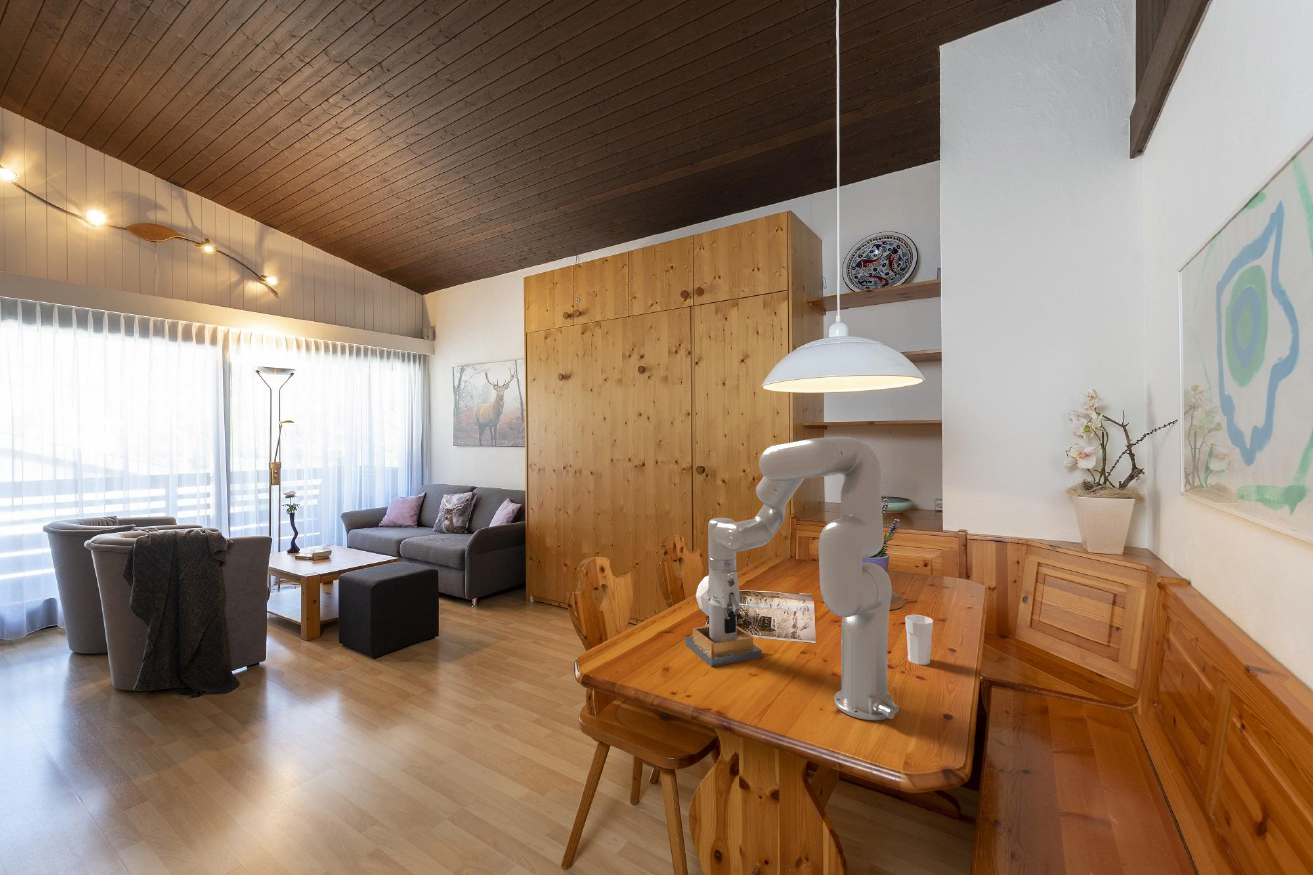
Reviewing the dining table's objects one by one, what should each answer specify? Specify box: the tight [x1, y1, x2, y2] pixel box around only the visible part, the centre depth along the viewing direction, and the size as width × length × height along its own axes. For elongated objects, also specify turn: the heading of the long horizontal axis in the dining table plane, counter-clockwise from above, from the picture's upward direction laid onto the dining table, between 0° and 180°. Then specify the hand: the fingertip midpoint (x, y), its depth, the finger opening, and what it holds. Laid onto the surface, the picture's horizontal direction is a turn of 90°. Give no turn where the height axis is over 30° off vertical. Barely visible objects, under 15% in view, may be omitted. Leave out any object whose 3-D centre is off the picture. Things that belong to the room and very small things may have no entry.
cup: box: [904, 614, 934, 666], centre depth 148 cm, size 7×7×11 cm
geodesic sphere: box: [695, 575, 709, 617], centre depth 184 cm, size 15×14×14 cm
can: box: [708, 596, 738, 642], centre depth 155 cm, size 8×8×12 cm
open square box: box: [684, 625, 763, 668], centre depth 156 cm, size 16×15×5 cm
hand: (722, 627), depth 155 cm, fingers closed on can, 7 cm apart
